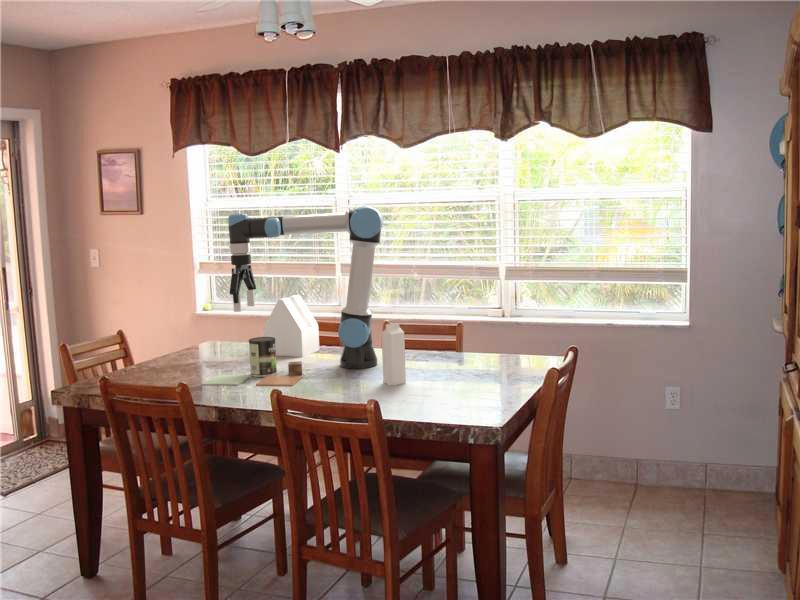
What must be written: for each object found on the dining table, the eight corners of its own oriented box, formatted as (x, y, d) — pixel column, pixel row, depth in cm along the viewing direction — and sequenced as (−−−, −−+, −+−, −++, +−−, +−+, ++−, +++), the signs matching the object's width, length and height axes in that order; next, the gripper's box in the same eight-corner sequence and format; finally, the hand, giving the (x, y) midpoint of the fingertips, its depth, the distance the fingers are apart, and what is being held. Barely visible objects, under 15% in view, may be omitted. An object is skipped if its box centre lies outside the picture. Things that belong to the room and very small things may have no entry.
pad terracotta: (303, 377, 301) (303, 375, 300) (292, 386, 287) (292, 384, 287) (268, 376, 303) (268, 375, 303) (255, 385, 289) (255, 384, 289)
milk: (405, 383, 286) (404, 323, 283) (392, 385, 282) (391, 325, 279) (396, 380, 291) (394, 321, 288) (382, 382, 287) (381, 323, 284)
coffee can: (280, 371, 312) (279, 336, 310) (271, 377, 302) (269, 341, 300) (256, 371, 314) (254, 336, 312) (246, 377, 304) (244, 341, 302)
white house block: (319, 350, 353) (316, 295, 350) (302, 357, 339) (299, 299, 336) (282, 348, 360) (279, 294, 357) (264, 354, 346) (261, 298, 343)
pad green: (251, 376, 304) (250, 375, 304) (237, 385, 290) (237, 383, 290) (216, 376, 306) (216, 374, 306) (202, 385, 293) (202, 383, 293)
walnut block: (302, 373, 307) (301, 361, 306) (301, 376, 302) (301, 363, 301) (289, 374, 306) (288, 361, 306) (288, 377, 302) (288, 364, 301)
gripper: (244, 251, 314) (247, 304, 317) (217, 257, 290) (222, 314, 292) (261, 251, 312) (265, 304, 315) (237, 256, 288) (241, 313, 291)
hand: (244, 308), depth 304 cm, fingers open, 13 cm apart
